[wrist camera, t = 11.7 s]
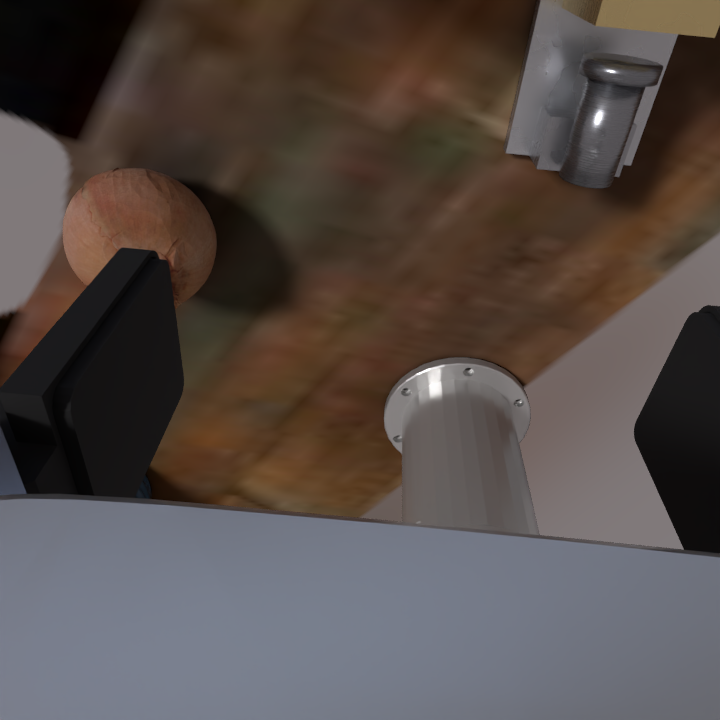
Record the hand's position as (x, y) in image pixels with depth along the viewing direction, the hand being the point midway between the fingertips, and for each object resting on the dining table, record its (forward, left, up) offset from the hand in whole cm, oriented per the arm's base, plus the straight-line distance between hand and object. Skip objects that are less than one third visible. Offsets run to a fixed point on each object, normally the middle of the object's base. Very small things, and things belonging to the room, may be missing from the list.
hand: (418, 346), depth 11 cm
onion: (-12, +16, -31) cm, 36 cm away
